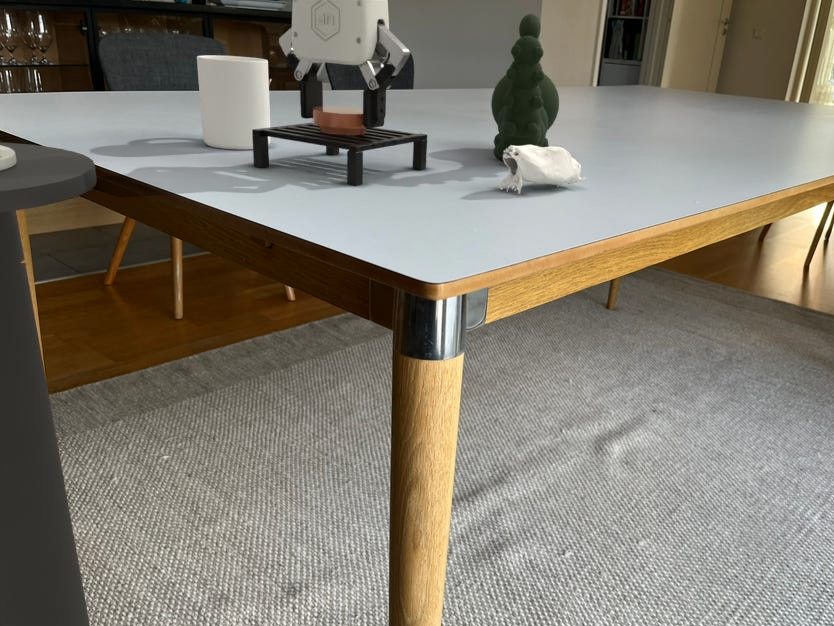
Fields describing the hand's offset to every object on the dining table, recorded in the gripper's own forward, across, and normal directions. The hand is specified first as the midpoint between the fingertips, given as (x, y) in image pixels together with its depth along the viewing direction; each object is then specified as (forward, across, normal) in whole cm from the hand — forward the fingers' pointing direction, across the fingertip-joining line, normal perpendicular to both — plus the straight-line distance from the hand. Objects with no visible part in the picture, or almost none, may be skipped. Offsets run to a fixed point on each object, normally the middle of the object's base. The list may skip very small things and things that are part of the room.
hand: (342, 121), depth 86 cm
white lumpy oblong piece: (+5, +22, +7) cm, 24 cm away
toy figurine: (+5, +11, +25) cm, 28 cm away
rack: (+5, 0, 0) cm, 5 cm away
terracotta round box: (+1, 0, 0) cm, 1 cm away
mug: (+5, -20, +3) cm, 21 cm away
